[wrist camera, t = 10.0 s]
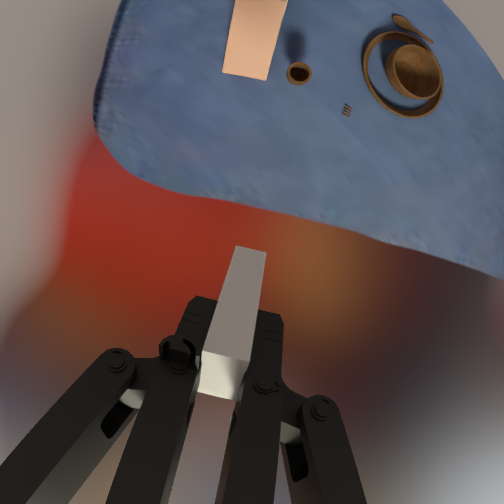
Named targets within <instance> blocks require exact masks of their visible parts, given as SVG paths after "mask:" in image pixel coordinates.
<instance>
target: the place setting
mask: <svg viewBox="0 0 504 504" xmlns="http://www.w3.org/2000/svg"><path fill="white" fill-rule="evenodd" d="M393 20H394V22H395V23H396V24H397V25H398V26H400V27H401V28H403V29H405V30H408V31H413V32H415V33H417V34H419V35H420V36H421V37H423V38H424V39H425V40H427V41H428V42H430V43H431V44H433V41H432V40H431V39H429V38H428V37H426V36H425V35H423V34H422V33H420V32H419V31H417V30H416V29H415V28H414V27H413V26H412V25H411V24H410V22H409V21H408V20H406V19H405V18H404V17H401V16H398V15H393ZM390 39H395V40H401V41H404V42H406V43H408V44H407V45H403V46H401V47H398V48H396V49H395V50H393V51H392V52H391V53H390V54H389V55H388V57H387V59H386V63H385V71H386V75H387V78H388V80H389V82H390V84H391V85H392V87H393V88H394V89H395V90H396V91H397V92H398V93H400V94H401V95H403V96H405V97H408V98H412V99H428V98H430V99H429V100H428V102H427V103H426V104H425V105H424V106H422V107H421V108H419V109H416V110H412V111H405V110H400V109H397V108H395V107H392V106H391V105H389V104H388V103H386V102H385V101H384V100H383V99H382V98H381V97H380V96H379V95H378V94H377V92H376V91H375V89H374V87H373V86H372V84H371V81H370V78H369V75H368V58H369V55H370V53H371V51H372V49H373V48H374V47H375V46H376V45H377V44H378V43H380V42H382V41H385V40H390ZM362 66H363V74H364V78H365V81H366V84H367V86H368V88H369V90H370V91H371V93H372V94H373V96H374V97H375V98H376V100H377V101H378V102H379V103H380V104H381V105H382V106H383V107H385V108H386V109H387V110H389V111H391V112H392V113H394V114H396V115H399V116H402V117H407V118H420V117H424V116H426V115H428V114H430V113H431V112H432V111H433V110H434V109H435V108H436V107H437V106H438V104H439V102H440V100H441V98H442V94H443V87H444V85H443V75H442V71H441V68H440V65H439V63H438V61H437V59H436V57H435V56H434V54H433V53H432V52H431V50H430V49H429V48H428V47H427V46H426V45H425V44H424V43H423V42H422V41H420V40H419V39H417V38H416V37H414V36H412V35H410V34H407V33H404V32H399V31H388V32H384V33H381V34H379V35H377V36H376V37H375V38H373V39H372V40H371V41H370V42H369V44H368V45H367V47H366V49H365V51H364V55H363V61H362ZM311 75H312V72H311V69H310V67H309V66H308V65H307V64H305V63H303V62H295V63H293V64H291V65H290V66H289V68H288V69H287V73H286V76H287V79H288V81H289V82H290V83H291V84H294V85H303V84H305V83H307V82H308V81H309V80H310V78H311ZM345 106H346V105H345ZM346 107H348V108H350V109H352V108H351V107H349V106H346ZM344 109H346V108H344ZM346 110H348V109H346ZM348 111H350V110H348ZM344 112H346V111H344ZM350 112H351V111H350ZM346 113H347V114H350V113H348V112H346ZM342 114H343V113H342ZM343 115H345V116H347V117H349V116H348V115H346V114H343Z"/></svg>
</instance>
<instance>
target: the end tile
mask: <svg viewBox="0 0 504 504" xmlns="http://www.w3.org/2000/svg"><path fill="white" fill-rule="evenodd" d="M286 3H287V1H283V0H236V1H235V6H234V11H233V16H232V21H231V26H230V31H229V37H228V42H227V48H226V53H225V59H224V65H223V71H222V72H223V73H229V74H235V75H241V76H246V77H251V78H256V79H261V80H265V81H266V79H267V76H268V72H269V68H270V64H271V60H272V56H273V52H274V48H275V44H276V40H277V36H278V32H279V29H280V25H281V21H282V17H283V14H284V10H285V6H286Z"/></svg>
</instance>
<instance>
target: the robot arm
mask: <svg viewBox="0 0 504 504" xmlns="http://www.w3.org/2000/svg"><path fill="white" fill-rule="evenodd" d="M265 259H266V252H261V251H257V250H253V249H249V248H244V247H240V246H236V248H235V251H234V254H233V257H232V260H231V263H230V266H229V269H228V273H227V275H226V278H225V282H224V284H223V288H222V291H221V294H220V297H219V300H218V301H216V300H212V299H208V298H204V297H201V296H196V297H194V298H193V299H192V300H191V301H190V302H189V303H188V305H187V307H186V309H185V312H184V314H183V316H182V319H181V321H180V323H179V326H178V328H177V330H176V333H175V335H171V336H168V337H166V338H165V339H163V340H162V341H161V343H160V344H159V355H160V356H158V357H155V358H134V357H133V355H131V354H130V353H129V352H128V351H127V350H124V349H122V348H112V349H109V350H107V351H105V352H104V353H102V354H101V355H100V356H99V357H98V358H97V359H96V360H95V361H94V363H92V364H91V366H90V367H89V368H88V369H87V370H86V371H85V372H84V373H83V374H82V375H81V376H80V377H79V378H78V379H77V380H76V381H75V382H74V384H72V386H71V387H70V388H69V389H68V390H67V391H66V392H65V393H64V394H63V395H62V396H61V398H60V399H59V400H58V401H57V402H56V403H55V404H54V405H53V406H52V407H51V408H50V410H49V411H48V412H47V413H46V414H45V415H44V416H43V417H42V418H41V419H40V420H39V422H38V423H37V424H36V425H35V426H34V427H33V428H32V430H31V431H30V432H29V433H28V434H27V435H26V436H25V438H24V439H23V440H22V441H21V442H20V443H19V444H18V446H17V447H16V448H15V449H14V450H13V451H12V453H11V454H10V455H9V456H8V457H7V458H6V460H5V461H4V462H3V463H2V465H1V466H0V504H68V502H69V501H70V500H71V499H72V497H73V496H74V495H75V494H76V492H77V491H78V490H79V488H80V487H81V486H82V484H83V483H84V482H85V480H86V479H87V478H88V477H89V475H90V474H91V473H92V471H93V470H94V469H95V467H96V466H97V465H98V463H99V462H100V461H101V459H102V458H103V457H104V455H105V454H106V453H107V452H108V450H109V449H110V448H111V446H112V445H113V444H114V442H115V441H116V440H117V438H118V437H119V436H120V434H121V433H122V431H123V430H124V429H125V428H126V427H127V425H128V424H129V423H130V421H131V420H132V419H133V417H134V416H135V415H136V413H137V412H138V411H139V412H138V415H137V417H136V420H135V422H134V425H133V428H132V430H131V433H130V436H129V438H128V441H127V444H126V446H125V449H124V452H123V454H122V458H121V460H120V463H119V466H118V468H117V471H116V474H115V477H114V480H113V483H112V486H111V489H110V492H109V494H108V497H107V500H106V504H168V501H169V497H170V493H171V490H172V486H173V482H174V478H175V474H176V471H177V467H178V463H179V459H180V456H181V452H182V449H183V445H184V441H185V437H186V434H187V430H188V427H189V423H190V419H191V416H192V412H193V409H194V405H195V398H196V394H197V392H201V393H205V394H209V395H213V396H217V397H222V398H226V399H231V400H235V401H236V403H235V408H234V411H233V414H232V416H231V419H230V421H231V424H230V429H229V434H228V440H227V444H226V450H225V455H224V460H223V465H222V470H221V475H220V480H219V485H218V490H217V495H216V499H215V504H273V501H274V493H275V484H276V473H277V464H278V454H279V442H280V445H281V450H282V455H283V461H284V466H285V471H286V476H287V481H288V487H289V492H290V497H291V502H292V504H367V502H366V499H365V495H364V492H363V488H362V484H361V481H360V478H359V474H358V471H357V467H356V464H355V460H354V457H353V454H352V451H351V447H350V444H349V440H348V437H347V434H346V431H345V427H344V424H343V421H342V418H341V415H340V412H339V409H338V407H337V405H336V403H335V402H334V401H333V400H331V399H330V398H328V397H326V396H323V395H315V396H311V397H309V398H306V397H304V396H302V395H299V394H297V393H295V392H294V391H292V390H290V389H289V388H288V387H287V386H286V385H285V383H284V382H283V379H282V377H281V365H282V349H283V344H282V343H283V331H284V323H283V321H282V319H281V317H280V315H279V314H276V313H271V312H266V311H262V310H258V305H259V299H260V292H261V286H262V279H263V272H264V266H265ZM139 409H140V410H139Z"/></svg>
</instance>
